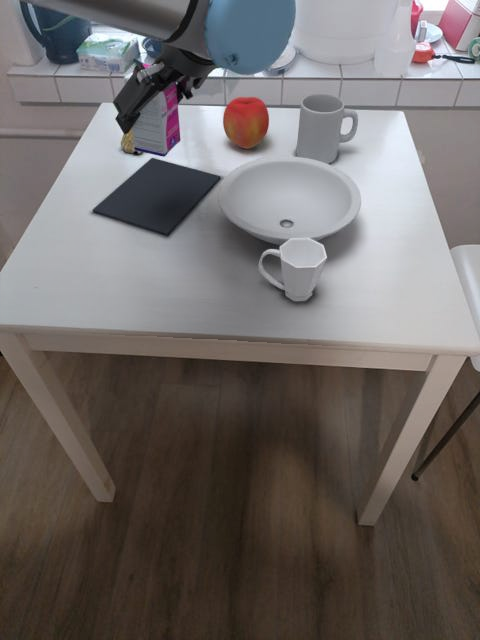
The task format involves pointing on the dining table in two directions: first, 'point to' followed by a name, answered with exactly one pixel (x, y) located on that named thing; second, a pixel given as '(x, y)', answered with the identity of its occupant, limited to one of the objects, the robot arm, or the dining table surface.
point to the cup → (298, 266)
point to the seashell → (128, 143)
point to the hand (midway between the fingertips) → (142, 117)
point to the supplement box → (157, 123)
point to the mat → (157, 196)
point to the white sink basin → (289, 198)
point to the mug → (323, 127)
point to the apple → (246, 121)
